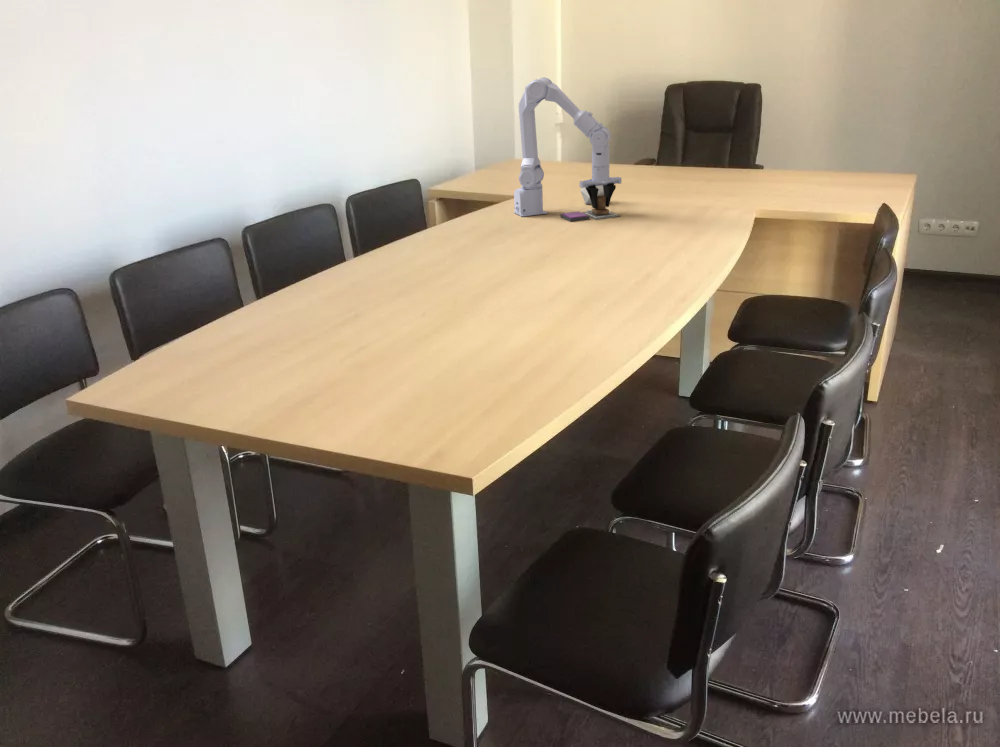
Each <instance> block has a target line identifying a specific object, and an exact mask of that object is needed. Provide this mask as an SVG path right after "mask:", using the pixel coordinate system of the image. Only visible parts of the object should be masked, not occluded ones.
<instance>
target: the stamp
mask: <svg viewBox="0 0 1000 747" xmlns="http://www.w3.org/2000/svg"><path fill="white" fill-rule="evenodd" d="M591 210H592V214H594V215H596V216H602V215H609V211H610V210H609V209H608V208H607V207H606V196H605V195H597V208H596V209H595V208H591Z"/></svg>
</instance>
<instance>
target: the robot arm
mask: <svg viewBox="0 0 1000 747" xmlns="http://www.w3.org/2000/svg"><path fill="white" fill-rule="evenodd" d="M543 100H544V101H546V102H553V103H555V104H557V105H558V106H559V107H560V108H561V109H562V110H563V111H564V112H566V113H567V115H569V116H571V118H572V119H573V125H574V126H575V127H576V128H577V129H578V130H580V132H581V133H582V134H583V135H584V136H586V137H587V138H589V143H590V145H591V149H592V150H591V179H586V180H580V181H579V188H581V189H582V188H585V187H586V190H587V192H588V194H589V197H590V199H591V203H592V205H591V206H592V207H591V209H594V208H595V209H596V208H597V195H598V190H599V189H598V188H596V186H600V185H603V191H604V195H605V196H606V208H609V206H610V203H611V199H612V197H613V194H614V193H615V190H616V187H617V186H616V185H617V184H622V177H620V176H614V177H610V142H611V139H612V133H611V131H610V130H609V128H608V127H607V126H604V124H603V123H601V122H599V121H598V120H596V118H595V117H593V113H592V112H591V111H587V110H581V109H579V107H578V106H577V105H576V104H575V103H574V102H573V101H572V100H571V99H570V98H569V96H568V95H566V93H564V91H562V89H561V88H560V87H559V86H558V85H557V84H555V82H553V81H552V80H551V79H550V78H547V77H540V78H538V79H537V78H536V79H533V80H531V81H530V82H529V83H528V84H527V85H526V86H525V87H524V91H523V94H522V96H521V97H520V100H519V102H518V115H519V116H518V119H519V128H520V129H519V130H520V141H521V142H520V143H521V152H522V154H521V155H522V161H521V165H520V172H519V175H518V181H519V184H520V188H516V189H514V193H513V200H514V201H513V203H514V204H513V205H514V210H513V213H514V214H516V215H517V216H520V217H530V216H538V215H545V214H546V215H548V211H546V210H544V200H543V198H544V196H543V192H544V191H543V184H542V181H543V180H544V177H545V173H544V170H543V168H542V166H541V160H540V159H539V155H538V154H539V153H538V152H539V151H538V140H537V126H536V114H535V111H536V110H535V109H536V107H537V106H538V105H539V104H540V103H541V102H542V101H543Z"/></svg>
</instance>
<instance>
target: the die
mask: <svg viewBox="0 0 1000 747" xmlns="http://www.w3.org/2000/svg"><path fill="white" fill-rule="evenodd" d="M596 188H598V189H599V190H598V195H604V191H603V185H600V186H596ZM580 193H581V196H582V199H583V201H584V204H585V205H591V206H592V203H591V199H590V197H589V194H588V192H587V190H586V187H585V188H581V189H580Z"/></svg>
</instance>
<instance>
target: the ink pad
mask: <svg viewBox="0 0 1000 747" xmlns="http://www.w3.org/2000/svg"><path fill="white" fill-rule="evenodd" d="M559 217H560V218H561V219H564V220H565V221H568V222H570V223H571V222H579V221H580V220H581V221H587V220H590V218H591V217H590V216H588V215H586V214H583V212H580V211H572V212H571V211H570V212H564V213H560V215H559Z"/></svg>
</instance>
